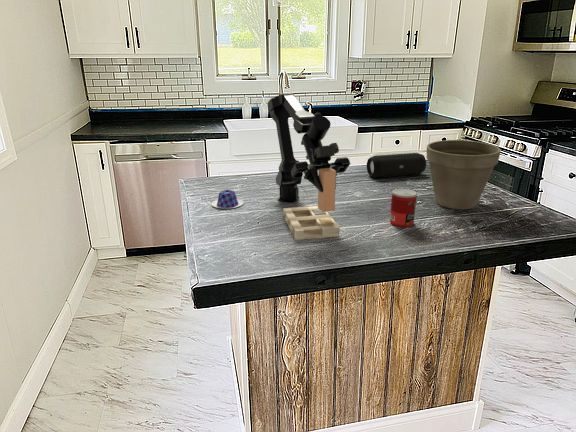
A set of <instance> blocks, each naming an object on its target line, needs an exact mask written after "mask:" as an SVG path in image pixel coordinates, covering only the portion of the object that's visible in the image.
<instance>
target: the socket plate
mask: <svg viewBox="0 0 576 432" xmlns="http://www.w3.org/2000/svg"><path fill="white" fill-rule="evenodd" d="M328 212H329V211H328ZM328 212H322V211H321V210H320V209H318V205H314V206H301V207H299V206H298V207H288V208H287V207H286V208H285V207H284V208H283V209H282V213H283V214H282V215H283V216H282V217H283V219H284V221H285V223H286V225H287V227H288V228H289V230H290V232H291V234H292V236H293V238H294V240H295V241H298V240H299V241H301V240H311V239H323V238H334V237H336V238H337V237H340V231H341V230H340V226H339V224H338V223H337V222H336V221H335V220H334V218H332V216H331V215H330V213H328Z"/></svg>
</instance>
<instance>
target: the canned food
mask: <svg viewBox="0 0 576 432" xmlns="http://www.w3.org/2000/svg"><path fill="white" fill-rule="evenodd" d="M417 194H418V193H417V192H416V191H415V190H413V189H408V188H395V189H393V190H392V191H391V200H390V201H391V202H390V214H389V222H390V224H391V225H393V226H395V227H398V228H408V227H409V228H410V227H412V226H413V225H414V224H415V216H416V215H415V214H416V207H417V198H418V196H417Z"/></svg>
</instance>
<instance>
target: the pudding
mask: <svg viewBox="0 0 576 432" xmlns="http://www.w3.org/2000/svg"><path fill="white" fill-rule="evenodd" d="M244 202H245V201H244V200H243V199H239V198H237V195H236V192H235V191H234V190H233V189H232V190H231V189H223V190H221V191H219V193H218V198H217V199H216V200H215V199H214V201H212V202H211V206H212V207H214V208H217V209H226V210H227V209H235V208H238V207H242V206H243V205H244Z"/></svg>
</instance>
